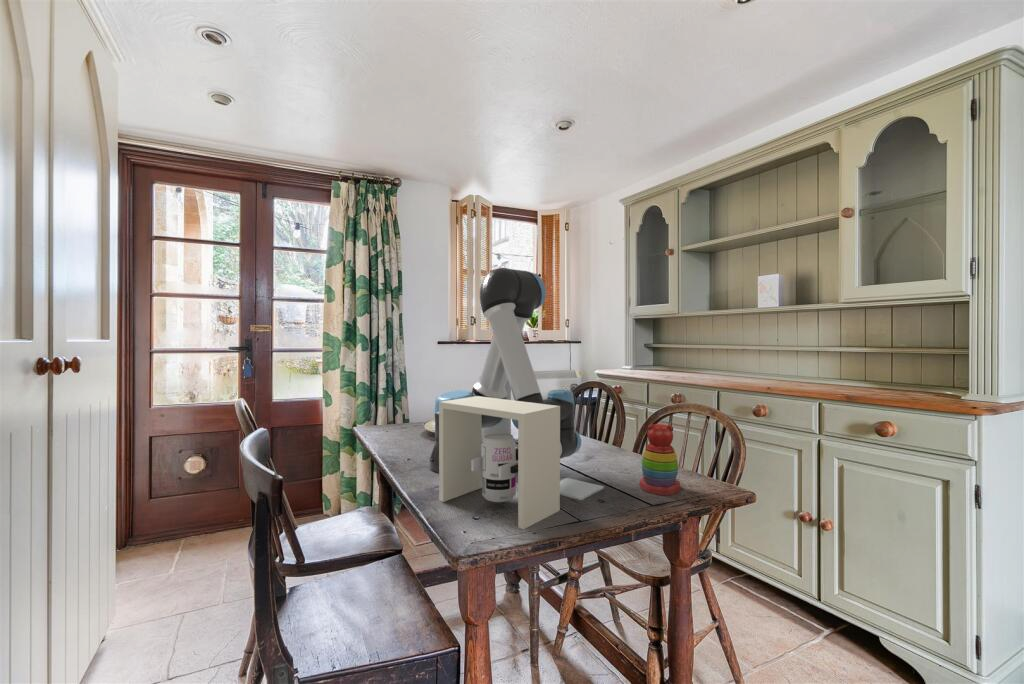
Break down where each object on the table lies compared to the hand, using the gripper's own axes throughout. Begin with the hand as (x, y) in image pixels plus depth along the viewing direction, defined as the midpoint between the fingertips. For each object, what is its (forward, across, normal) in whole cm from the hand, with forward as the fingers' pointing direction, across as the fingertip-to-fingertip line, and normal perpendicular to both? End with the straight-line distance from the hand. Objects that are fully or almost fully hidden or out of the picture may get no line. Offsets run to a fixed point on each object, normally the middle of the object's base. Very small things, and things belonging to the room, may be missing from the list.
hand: (485, 468), depth 112 cm
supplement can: (-5, 0, -8) cm, 9 cm away
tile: (-26, -8, -10) cm, 29 cm away
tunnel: (-4, 0, -10) cm, 11 cm away
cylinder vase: (-55, +46, -10) cm, 73 cm away
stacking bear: (-42, -26, -10) cm, 50 cm away
